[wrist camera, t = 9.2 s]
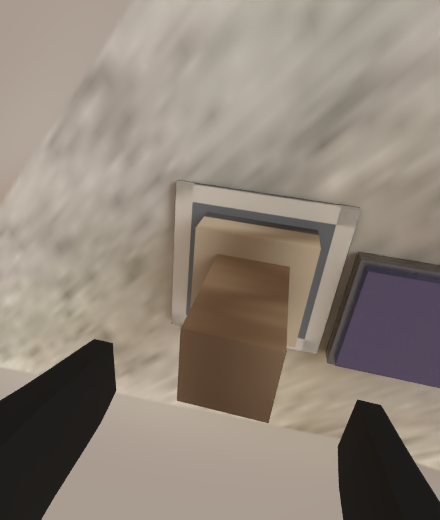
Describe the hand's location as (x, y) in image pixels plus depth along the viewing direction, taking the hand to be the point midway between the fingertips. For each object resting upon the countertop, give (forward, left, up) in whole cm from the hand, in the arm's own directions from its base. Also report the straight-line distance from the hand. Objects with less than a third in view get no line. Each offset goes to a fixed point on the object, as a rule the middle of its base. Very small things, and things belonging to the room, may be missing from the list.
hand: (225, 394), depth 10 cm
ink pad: (-7, +1, -8) cm, 11 cm away
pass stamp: (0, 0, -7) cm, 7 cm away
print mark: (0, 0, -8) cm, 8 cm away
